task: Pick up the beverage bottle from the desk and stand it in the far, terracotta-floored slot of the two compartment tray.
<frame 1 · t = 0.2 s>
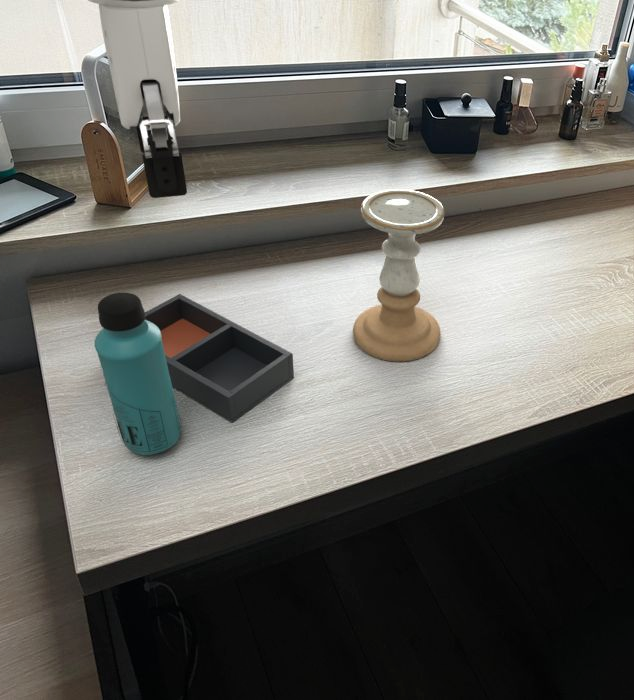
hand: (163, 172, 69), 30 cm above the table, tool pointing down, fingers open, 9 cm apart
two compartment tray: (206, 366, 93), on the table
beverage bottle: (154, 446, 82), on the table
candle holder: (396, 336, 103), on the table
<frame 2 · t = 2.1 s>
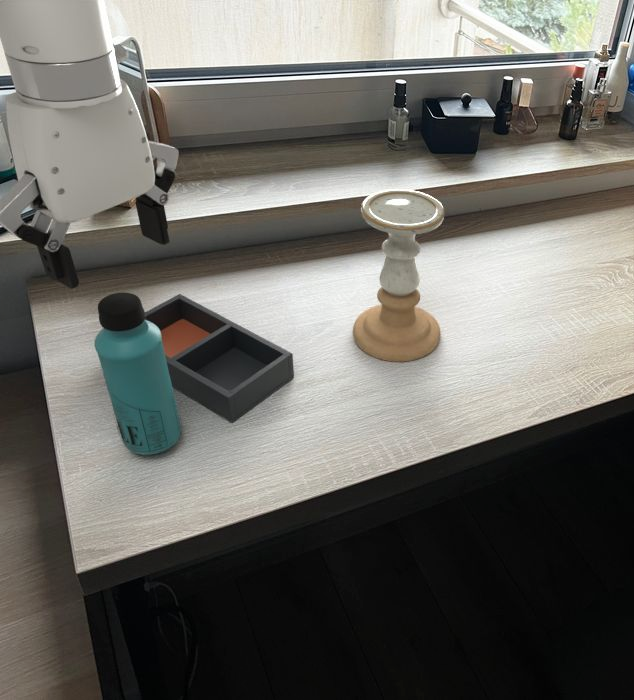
hand: (113, 259, 67), 25 cm above the table, tool pointing down, fingers open, 9 cm apart
nothing on the table moved.
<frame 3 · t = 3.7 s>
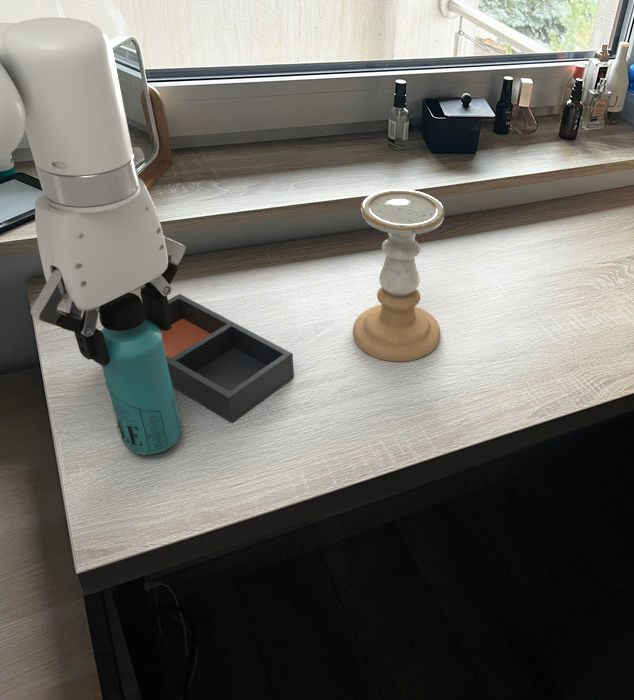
hand: (129, 340, 73), 15 cm above the table, tool pointing down, fingers closed on beverage bottle, 6 cm apart
beverage bottle: (154, 446, 82), on the table, touching gripper
everything else where it was.
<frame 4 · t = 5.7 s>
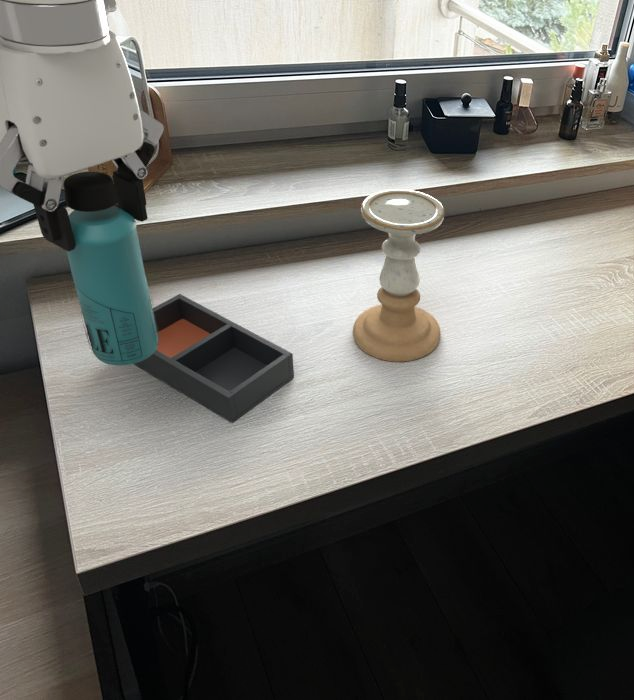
hand: (98, 228, 65), 28 cm above the table, tool pointing down, fingers closed on beverage bottle, 6 cm apart
beverage bottle: (128, 360, 74), point 13 cm above the table, touching gripper
everything else where it was.
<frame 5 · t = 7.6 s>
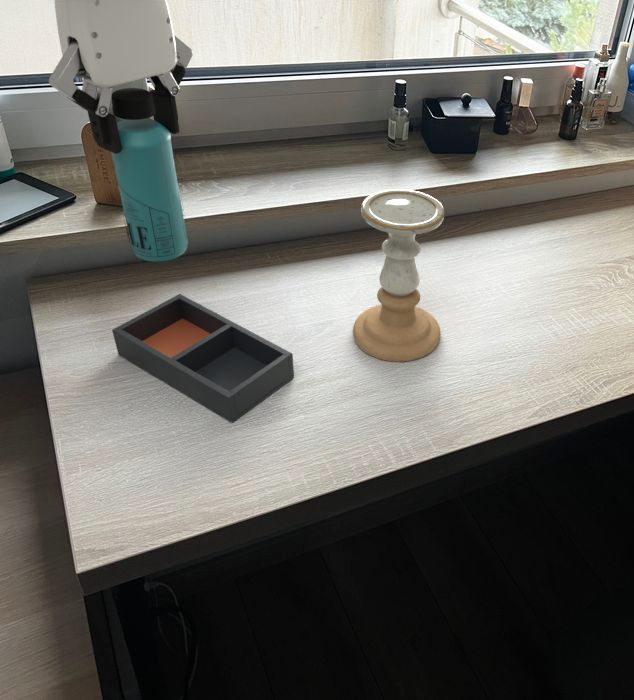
hand: (139, 138, 77), 29 cm above the table, tool pointing down, fingers closed on beverage bottle, 6 cm apart
beverage bottle: (162, 260, 86), point 14 cm above the table, touching gripper
everything else where it was.
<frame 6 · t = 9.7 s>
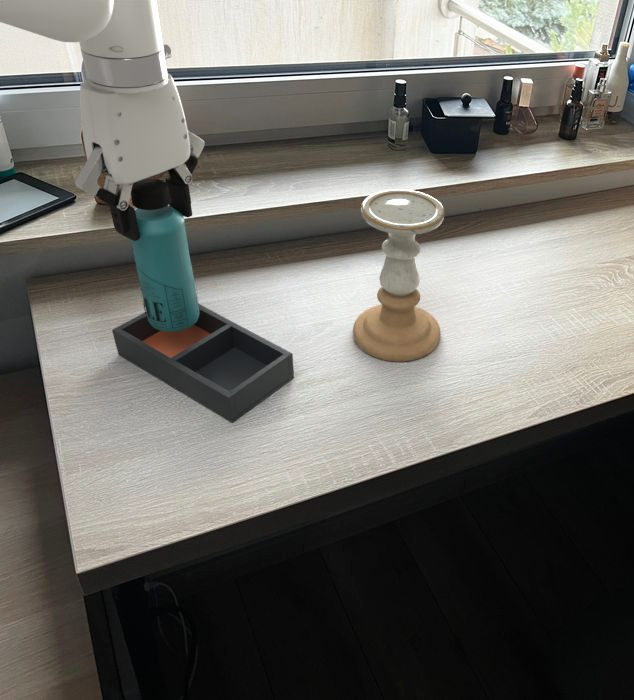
hand: (155, 223, 83), 19 cm above the table, tool pointing down, fingers closed on beverage bottle, 6 cm apart
beverage bottle: (175, 328, 93), point 4 cm above the table, touching gripper
everything else where it was.
when the fingers open (16 cm above the table, at t = 11.3 s): beverage bottle stays where it is, resting on two compartment tray.
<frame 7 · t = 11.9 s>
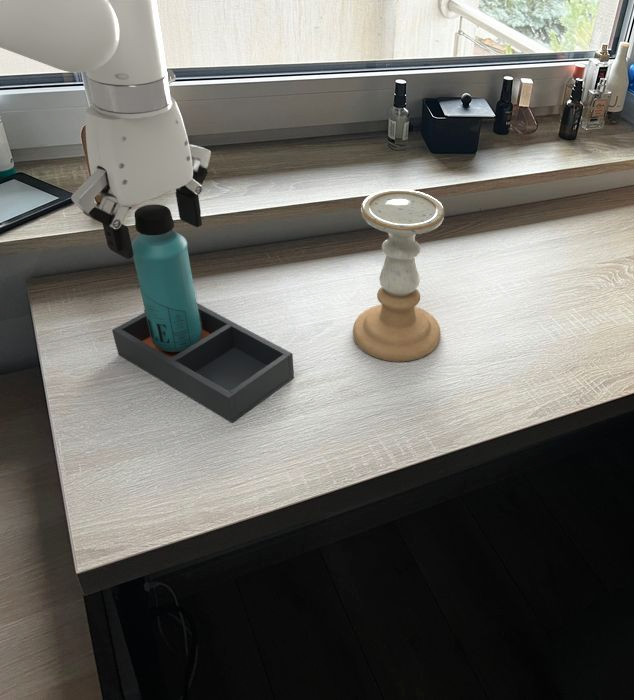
hand: (158, 237, 84), 17 cm above the table, tool pointing down, fingers open, 9 cm apart
beverage bottle: (178, 348, 95), point 1 cm above the table, touching two compartment tray
everything else where it was.
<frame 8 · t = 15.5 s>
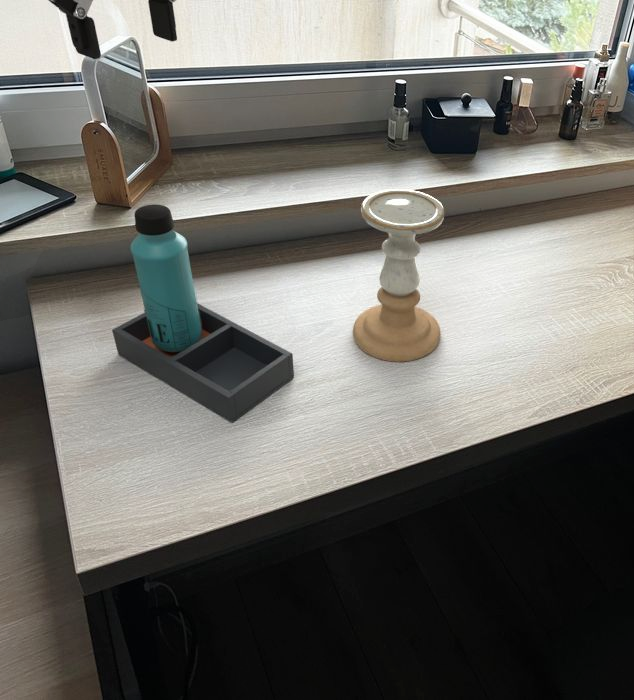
hand: (128, 46, 78), 36 cm above the table, tool pointing down, fingers open, 9 cm apart
nothing on the table moved.
at the end: beverage bottle 0.1 cm from the target spot in the two compartment tray, point 0.6 cm above the two compartment tray's base; beverage bottle tilted 0°; the gripper is holding nothing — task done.
